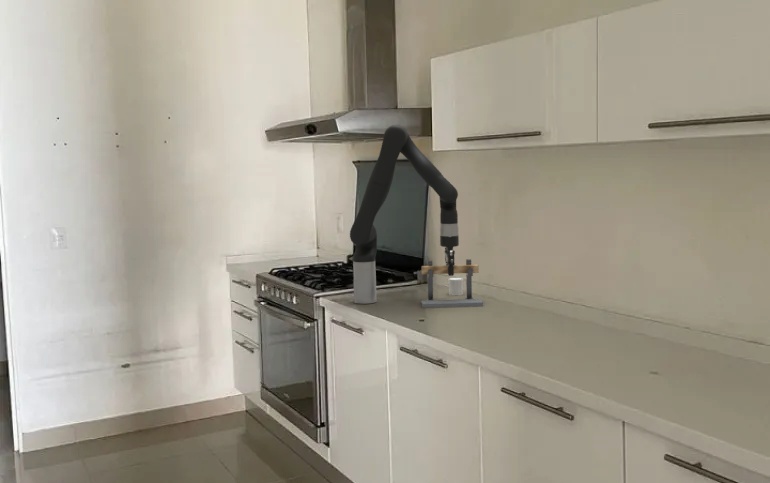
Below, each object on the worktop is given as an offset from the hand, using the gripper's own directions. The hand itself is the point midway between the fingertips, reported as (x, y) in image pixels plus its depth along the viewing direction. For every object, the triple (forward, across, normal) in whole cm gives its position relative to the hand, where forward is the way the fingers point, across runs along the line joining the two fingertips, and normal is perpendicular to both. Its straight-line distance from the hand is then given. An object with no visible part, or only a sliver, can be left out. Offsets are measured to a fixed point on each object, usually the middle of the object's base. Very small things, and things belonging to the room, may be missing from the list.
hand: (450, 274), depth 311 cm
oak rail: (0, 0, 0) cm, 0 cm away
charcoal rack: (+12, -1, 0) cm, 12 cm away
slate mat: (+12, +7, 0) cm, 13 cm away
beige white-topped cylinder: (+12, -17, +4) cm, 21 cm away
